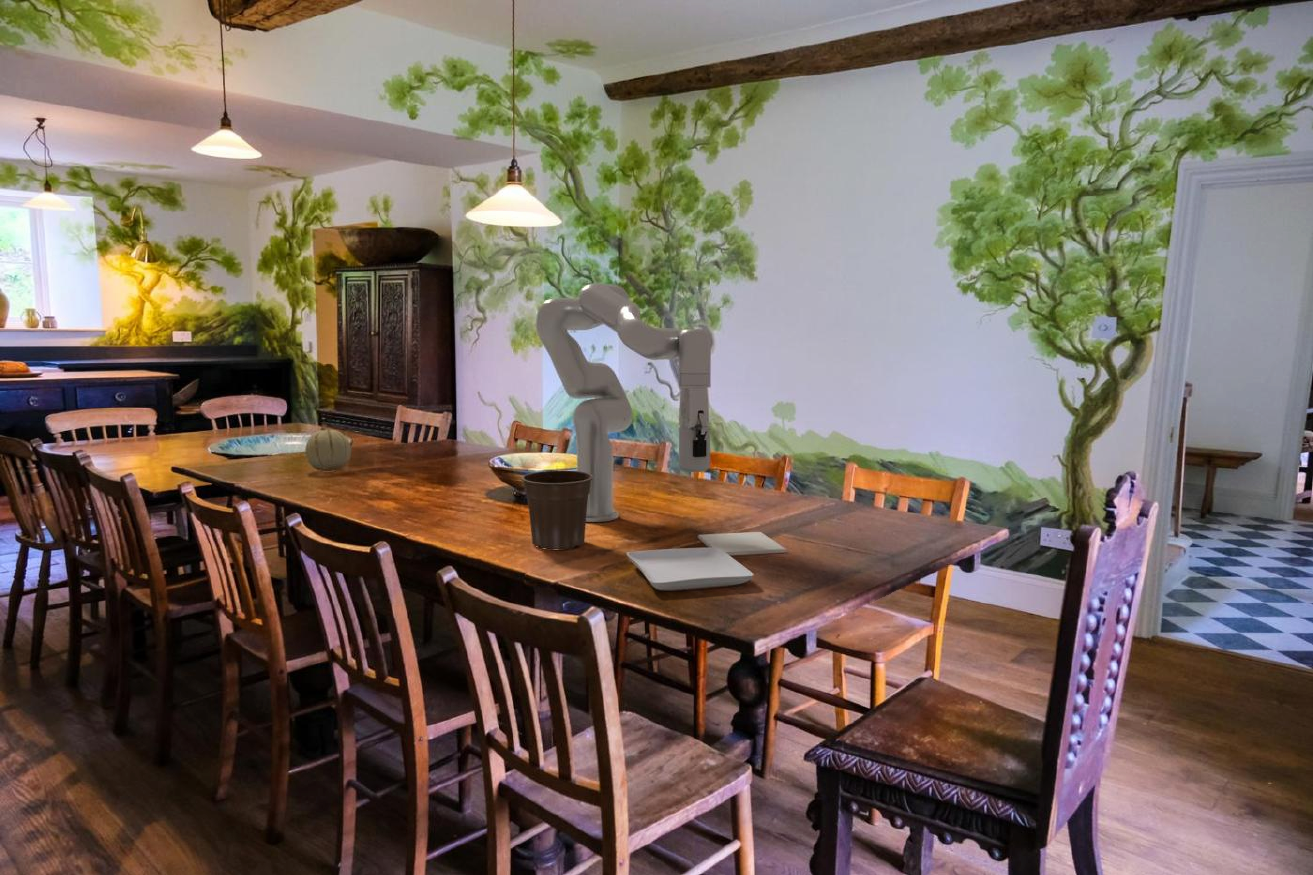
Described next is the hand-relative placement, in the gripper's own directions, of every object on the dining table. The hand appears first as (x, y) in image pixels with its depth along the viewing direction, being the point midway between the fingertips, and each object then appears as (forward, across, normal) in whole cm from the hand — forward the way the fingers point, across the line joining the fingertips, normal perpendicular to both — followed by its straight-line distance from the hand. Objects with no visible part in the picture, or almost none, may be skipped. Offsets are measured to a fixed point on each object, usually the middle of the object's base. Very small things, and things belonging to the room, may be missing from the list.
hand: (694, 454), depth 195 cm
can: (+4, 0, 0) cm, 4 cm away
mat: (+21, +9, +9) cm, 24 cm away
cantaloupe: (+17, -108, -99) cm, 147 cm away
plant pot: (+20, 0, -33) cm, 39 cm away
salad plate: (+21, +30, -10) cm, 38 cm away
